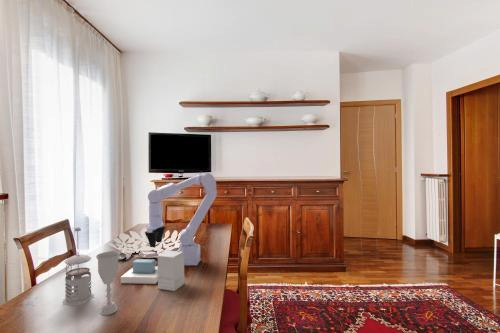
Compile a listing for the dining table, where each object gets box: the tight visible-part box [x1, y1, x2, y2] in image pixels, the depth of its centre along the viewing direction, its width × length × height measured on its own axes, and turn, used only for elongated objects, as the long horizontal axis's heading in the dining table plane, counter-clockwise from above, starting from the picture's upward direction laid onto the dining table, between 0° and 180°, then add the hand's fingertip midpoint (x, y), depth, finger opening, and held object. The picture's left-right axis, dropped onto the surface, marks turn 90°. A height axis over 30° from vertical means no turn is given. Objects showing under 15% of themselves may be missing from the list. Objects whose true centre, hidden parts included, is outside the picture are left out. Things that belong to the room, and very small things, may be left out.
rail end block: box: [132, 258, 156, 274], centre depth 119 cm, size 8×4×7 cm, turn 87°
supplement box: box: [157, 249, 185, 292], centre depth 110 cm, size 7×7×13 cm
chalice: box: [95, 250, 121, 316], centre depth 92 cm, size 7×7×18 cm
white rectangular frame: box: [120, 265, 158, 285], centre depth 119 cm, size 14×12×2 cm
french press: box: [61, 227, 95, 307], centre depth 101 cm, size 10×12×25 cm
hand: (155, 244), depth 134 cm, fingers open, 7 cm apart
